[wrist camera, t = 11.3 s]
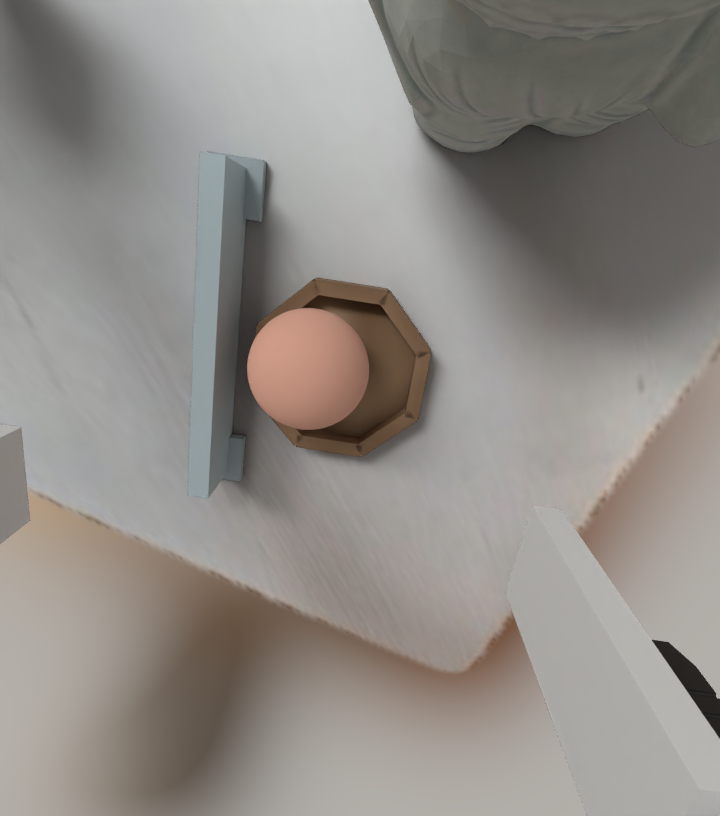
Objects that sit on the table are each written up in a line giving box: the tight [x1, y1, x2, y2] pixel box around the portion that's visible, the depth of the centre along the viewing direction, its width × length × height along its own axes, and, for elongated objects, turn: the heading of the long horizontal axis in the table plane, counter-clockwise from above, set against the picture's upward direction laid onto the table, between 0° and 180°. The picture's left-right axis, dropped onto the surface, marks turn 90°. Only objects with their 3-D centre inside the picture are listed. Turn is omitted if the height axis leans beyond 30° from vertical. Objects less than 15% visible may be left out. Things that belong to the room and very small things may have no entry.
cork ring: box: [251, 278, 432, 457], centre depth 28 cm, size 10×10×2 cm
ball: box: [247, 308, 369, 430], centre depth 25 cm, size 6×6×6 cm
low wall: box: [188, 151, 267, 499], centre depth 26 cm, size 3×19×4 cm, turn 171°
